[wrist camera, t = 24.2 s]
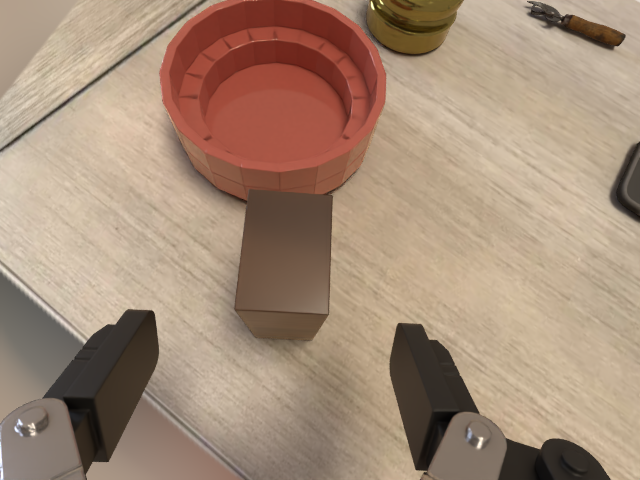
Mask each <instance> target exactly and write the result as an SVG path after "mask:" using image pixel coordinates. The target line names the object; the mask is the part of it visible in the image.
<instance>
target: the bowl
mask: <svg viewBox="0 0 640 480" xmlns="http://www.w3.org/2000/svg"><path fill="white" fill-rule="evenodd" d="M159 75H160V84H161V93H162V101H163V104H164V106H165V109H166V111H167V113H168V115H169V118H170V120H171V122H172V124H173V126H174V129H175V131H176V133H177V135H178V137H179V140H180V142H181V144H182V146H183V148H184V150H185V151H186V153H187V155H188V157H189V159H190V161H191V162H192V164H193V166H194V167H195V169H196V170H197V171H198V172H200V173H201V174H202V175H203V176H204V177H205V178H206V179H208V180H209V181H210V182H211V183H212V184H213V185H214V186H216V187H217V188H219V189H221V190H223V191H225V192H228V193H230V194H232V195H235V196H237V197H239V198H242V199H244V200H246V201H247V197H248V190H249V189H254V190H268V191H282V192H295V193H309V194H325V193H327V192H329V191H331V190H333V189H335V188H337V187H339V186H340V185H342V184H343V183H344V182H345V181H346V180H347V179H348V178H349V177H350V176H351V175H352V174H353V173H354V172H355V171H356V170H357V169H358V168H359V167H360V165H361V163H362V161H363V159H364V157H365V155H366V152H367V150H368V148H369V146H370V144H371V141H372V138H373V136H374V133H375V130H376V127H377V124H378V121H379V119H380V116H381V113H382V110H383V107H384V105H385V97H386V73H385V70H384V67H383V64H382V61H381V59H380V56H379V53H378V50H377V48H376V47H375V46H374V44H373V43H372V42H371V40H370V39H369V38H368V37H367V35H366V34H365V33H364V32H363V30H362V29H361V28H360V27H359V26H358V25H357V24H356V23H354V22H353V21H351V20H350V19H349V18H347V17H346V16H344V15H343V14H341V13H340V12H339V11H337V10H336V9H334V8H331V7H329V6H326V5H324V4H321V3H318V2H316V1H313V0H226V1H223V2H220V3H217V4H214V5H212V6H210V7H208V8H207V9H205V10H204V11H202V12H201V13H199V14H198V15H196V16H195V17H193V18H192V19H190V20H189V21H187V22H186V23H185V24H184V25H183V27H182V28H181V29H180V30H179V32H178V33H177V34H176V35H175V37H174V38H173V39H172V41H171V42H170V43H169V44H168V46H167V49H166V52H165V56H164V59H163V62H162V65H161V69H160V73H159Z"/></svg>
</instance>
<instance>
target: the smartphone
mask: <svg viewBox="0 0 640 480" xmlns="http://www.w3.org/2000/svg"><path fill="white" fill-rule="evenodd" d="M617 197H618V200H619V202H620V203H621V204H622V205H624V206H625V207H627V208H628V209H630V210H631V211H633V212H635V213H636V214H638V215H639V216H640V142H639V143H638V144H637V146H636V149H635V151H634V153H633V155H632V158H631V160H630V162H629V164H628V167H627V169H626V171H625V173H624V176H623V178H622V180H621V182H620V185H619V187H618V189H617Z"/></svg>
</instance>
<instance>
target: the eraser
mask: <svg viewBox="0 0 640 480" xmlns="http://www.w3.org/2000/svg"><path fill="white" fill-rule="evenodd" d="M332 200H333V196H332V195H323V194H309V193H295V192H282V191H268V190H254V189H249V190H248V197H247V206H246V214H245V223H244V231H243V240H242V248H241V257H240V265H239V274H238V282H237V291H236V299H235V308H234V309H235V311H236V312H237V314H238V315H239V316H240V318H241V319H242V320H243V321H244V323H245V324H246V325H247V327H248V328H249V329H250V331H251V332H252V333H253V335H254V336H255V337H256V338H271V339H292V340H313V338H314V337H315V335H316V333H317V332H318V330H319V329H320V327H321V326H322V324H323V323H324V321H325V320H326V318H327V316H328V315H329V297H330V265H331V232H332Z"/></svg>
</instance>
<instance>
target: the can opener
mask: <svg viewBox="0 0 640 480" xmlns="http://www.w3.org/2000/svg"><path fill="white" fill-rule="evenodd" d="M527 2H529V3H531V4H534V5H533V6H532V9H533V7H534V6H536V5H537V6H539V7H541V8H542V9H543V10H544V11H542V12H535V11H532V9H531V14H533V15H544V14H545V15H548V16H550V17H552V19H551V18H548V17H546V19H548V20H550V21H553V22H558V21H560V20H561V24H562V25H564V26H565V27H566V28H569V29H572V30H575V31H578V32H581V33H583V34H585V35H587V36H589V37H591V38H593V39H595V40H598V41H600V42H603V43H606V44H609V45H613V46H619V45H620V44H621V43H622V42H623V40H624V39H625V36H626V35H625V34H623V33H621V32H619V31H617V30H615V29H612V28H609V27H607V26H604V25H600V24H596V23H593V22H589V21H587V20H584V19H582V18H580V17H577V16H575V15H569V14H566V15H565V16H562V15H560V14H559V12H558V11H557V10H556V9H555V8H553V7H551V6H549V5H546V4H543V3H540V2H534V1H527ZM546 9H547V10H546Z"/></svg>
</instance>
